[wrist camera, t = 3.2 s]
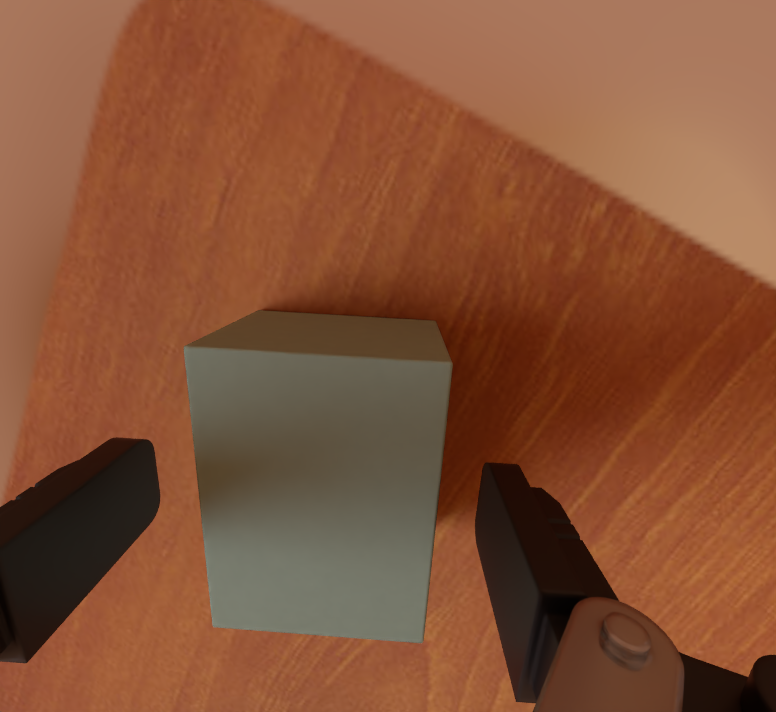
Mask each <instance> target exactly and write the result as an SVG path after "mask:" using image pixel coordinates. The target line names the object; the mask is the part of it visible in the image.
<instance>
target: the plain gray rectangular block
mask: <svg viewBox="0 0 776 712" xmlns="http://www.w3.org/2000/svg"><path fill="white" fill-rule="evenodd" d="M184 355H185V365H186V374H187V384H188V393H189V403H190V413H191V422H192V432H193V441H194V451H195V460H196V470H197V480H198V489H199V499H200V508H201V518H202V527H203V537H204V547H205V556H206V566H207V575H208V585H209V594H210V604H211V614H212V623H213V627H219V628H232V629H245V630H258V631H271V632H284V633H296V634H309V635H322V636H335V637H348V638H361V639H374V640H387V641H400V642H413V643H423V641H424V632H425V622H426V613H427V603H428V594H429V585H430V575H431V566H432V556H433V547H434V537H435V528H436V518H437V509H438V499H439V490H440V481H441V471H442V462H443V452H444V443H445V433H446V424H447V414H448V405H449V396H450V386H451V377H452V367H453V364H452V361H451V358H450V356H449V353H448V351H447V348H446V346H445V343H444V341H443V338H442V336H441V333H440V331H439V328H438V326H437V323H436V321H431V320H414V319H397V318H380V317H363V316H346V315H329V314H312V313H296V312H279V311H262V310H258V311H256V312H254V313H252V314H250V315H248V316H246V317H244V318H242V319H240V320H237V321H235V322H233V323H231V324H229V325H227V326H225V327H223V328H221V329H219V330H217V331H215V332H213V333H211V334H209V335H206V336H204V337H202V338H200V339H198V340H196V341H194V342H192V343H190V344H188V345H186V346H184Z"/></svg>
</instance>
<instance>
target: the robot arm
mask: <svg viewBox="0 0 776 712" xmlns="http://www.w3.org/2000/svg"><path fill="white" fill-rule="evenodd" d="M159 504H160V489H159V482H158V474H157V467H156V459H155V452H154V447H153V444H152V443H151V442H150V441H149V440H146V439H131V438H112V439H110V440H108V441H106V442H105V443H103V444H102V445H100V446H99V447H98V448H96V449H95V450H93V451H92V452H90V453H89V454H87V455H86V456H84V457H83V458H81V459H80V460H77V461H75V462H73V463H71V464H68V465H66V466H64V467H61V468H59V469H57V470H56V471H54V472H53V473H51V474H50V475H48V476H47V477H45V478H44V479H42V480H41V481H39V482H38V483H36V484H35V487H30V488H29V489H27V490H26V491H24V492H23V493H21V494H20V495H18V496H17V497H16V499H15V500H11V501H9V502H8V503H6V504H5V505H3V506H2V507H0V661H2V662H16V663H27V662H28V661H29V660H30V659H31V658H32V657H33V656H34V654H35V653H36V652H37V651H38V650H39V649H40V648H41V647H42V645H43V644H44V643H45V642H46V641H47V640H48V639H49V637H50V636H51V635H52V634H53V633H54V632H55V631H56V630H57V628H58V627H59V626H60V625H61V624H62V623H63V622H64V621H65V619H66V618H67V617H68V616H69V615H70V614H71V613H72V612H73V610H74V609H75V608H76V607H77V606H78V605H79V604H80V602H81V601H82V600H83V599H84V598H85V597H86V596H87V595H88V593H89V592H90V591H91V590H92V589H93V588H94V587H95V586H96V584H97V583H98V582H99V581H100V580H101V579H102V578H103V577H104V575H105V574H106V573H107V572H108V571H109V570H110V569H111V567H112V566H113V565H114V564H115V563H116V562H117V561H118V560H119V558H120V557H121V556H122V555H123V554H124V553H125V552H126V551H127V549H128V548H129V547H130V546H131V545H132V544H133V543H134V542H135V540H136V539H137V538H138V537H139V536H140V535H141V534H142V532H143V531H144V530H145V529H146V528H147V527H148V526H149V525H150V523H151V522H152V521H153V519H154V517H155V516H156V513H157V511H158V508H159ZM475 535H476V543H477V548H478V552H479V556H480V560H481V564H482V568H483V572H484V576H485V580H486V584H487V588H488V592H489V596H490V600H491V604H492V608H493V612H494V616H495V620H496V624H497V628H498V632H499V636H500V640H501V644H502V648H503V652H504V656H505V660H506V664H507V668H508V672H509V676H510V679H511V683H512V687H513V691H514V695H515V699H516V702H526V703H536V705H535V707H534V710H533V712H776V655H767V656H763V657H761V658H759V659H757V661H756V662H755V663H754V665H753V668H752V670H751V672H750V674H749V677H746V676H743V675H741V674H738V673H735V672H732V671H729V670H726V669H723V668H721V667H718V666H715V665H712V664H709V663H706V662H704V661H701V660H698V659H695V658H692V657H690V656H687V655H685V654H682V653H680V652H678V650H677V648H676V647H675V645H674V644H673V642H672V641H671V640H670V638H669V637H668V636H667V635H666V633H665V632H664V631H663V630H662V629H661V628H660V627H659V626H658V625H657V624H656V623H654V622H653V621H652V620H651V619H650V618H648V617H647V616H645V615H644V614H643V613H641V612H640V611H638V610H636V609H634V608H633V607H631V606H629V605H627V604H624V603H622V602H619V600H618V598H617V597H616V595H615V593H614V592H613V590H612V588H611V587H610V585H609V583H608V582H607V580H606V578H605V577H604V575H603V574H602V572H601V570H600V569H599V567H598V565H597V564H596V562H595V560H594V559H593V557H592V555H591V554H590V552H589V551H588V549H587V547H586V546H585V544H584V542H583V541H582V540H580V536H579V534H578V532H577V531H576V529H575V527H574V526H573V525H572V524H571V523H570V519H569V518H568V516H567V514H566V513H565V511H564V509H563V508H562V506H561V504H560V503H559V502H558V501H557V500H555V499H554V498H553V497H552V496H551V495H549V494H548V493H547V492H546V491H545V490H544V489H542V488H536V487H530V485H529V483H528V482H527V480H526V478H525V476H524V474H523V472H522V470H521V468H520V467H519V465H517V464H503V463H488V462H486V463H485V464H484V466H483V470H482V476H481V483H480V490H479V497H478V504H477V511H476V519H475Z"/></svg>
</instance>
